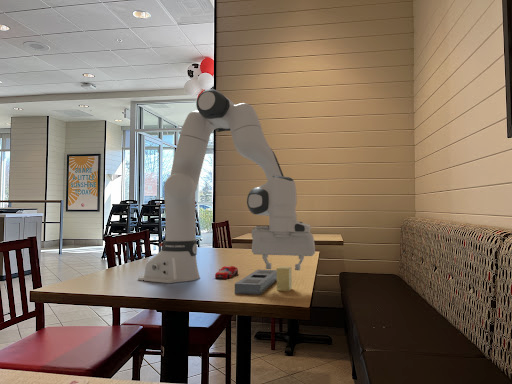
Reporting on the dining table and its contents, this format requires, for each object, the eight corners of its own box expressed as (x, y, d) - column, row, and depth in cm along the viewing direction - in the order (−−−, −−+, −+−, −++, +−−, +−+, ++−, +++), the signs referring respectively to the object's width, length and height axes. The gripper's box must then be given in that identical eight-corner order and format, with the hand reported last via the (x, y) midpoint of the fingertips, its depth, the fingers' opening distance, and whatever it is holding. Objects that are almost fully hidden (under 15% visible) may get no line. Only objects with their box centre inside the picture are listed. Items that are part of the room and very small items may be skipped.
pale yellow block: (276, 290, 118) (276, 268, 119) (279, 288, 122) (279, 266, 122) (289, 291, 117) (289, 268, 117) (291, 288, 121) (291, 266, 121)
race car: (225, 280, 137) (225, 269, 137) (212, 280, 139) (212, 269, 139) (240, 274, 149) (240, 264, 149) (228, 274, 151) (228, 264, 151)
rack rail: (234, 293, 114) (234, 283, 114) (258, 277, 141) (257, 269, 141) (260, 294, 112) (260, 284, 112) (278, 278, 139) (278, 270, 139)
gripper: (249, 226, 120) (249, 269, 119) (313, 226, 115) (313, 272, 114) (254, 225, 126) (254, 266, 125) (315, 225, 121) (315, 269, 120)
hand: (283, 269), depth 120 cm, fingers open, 8 cm apart
